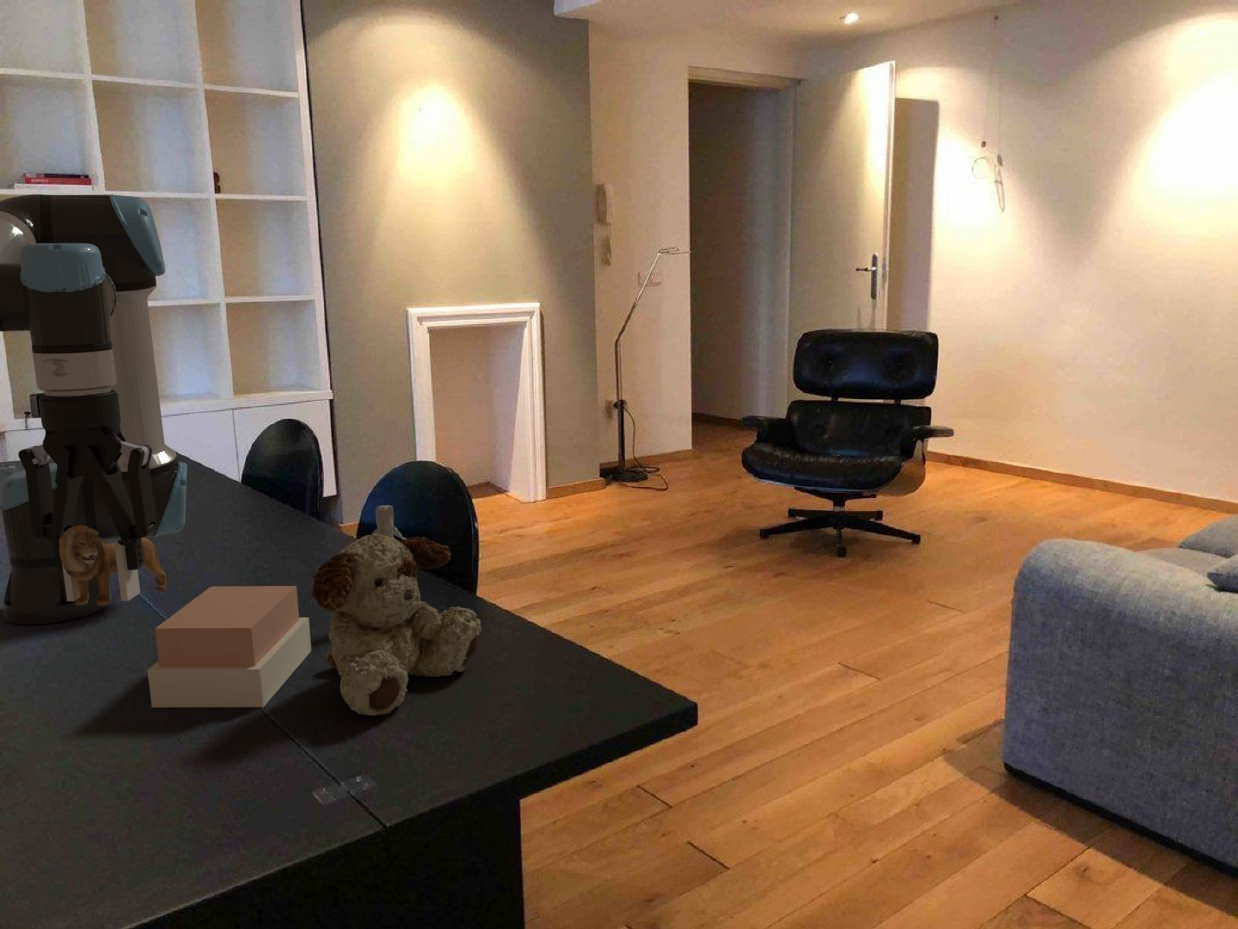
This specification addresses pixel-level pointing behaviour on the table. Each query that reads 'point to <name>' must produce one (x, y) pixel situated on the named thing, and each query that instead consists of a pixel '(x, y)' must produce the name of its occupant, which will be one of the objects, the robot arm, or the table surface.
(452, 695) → the table surface
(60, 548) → the lion figurine
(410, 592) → the dog
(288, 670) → the stacked block pedestal
